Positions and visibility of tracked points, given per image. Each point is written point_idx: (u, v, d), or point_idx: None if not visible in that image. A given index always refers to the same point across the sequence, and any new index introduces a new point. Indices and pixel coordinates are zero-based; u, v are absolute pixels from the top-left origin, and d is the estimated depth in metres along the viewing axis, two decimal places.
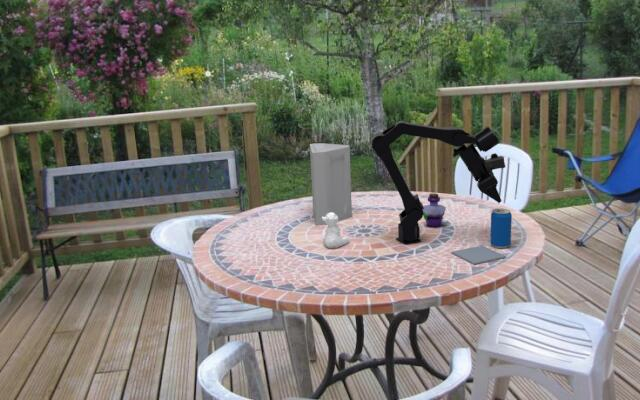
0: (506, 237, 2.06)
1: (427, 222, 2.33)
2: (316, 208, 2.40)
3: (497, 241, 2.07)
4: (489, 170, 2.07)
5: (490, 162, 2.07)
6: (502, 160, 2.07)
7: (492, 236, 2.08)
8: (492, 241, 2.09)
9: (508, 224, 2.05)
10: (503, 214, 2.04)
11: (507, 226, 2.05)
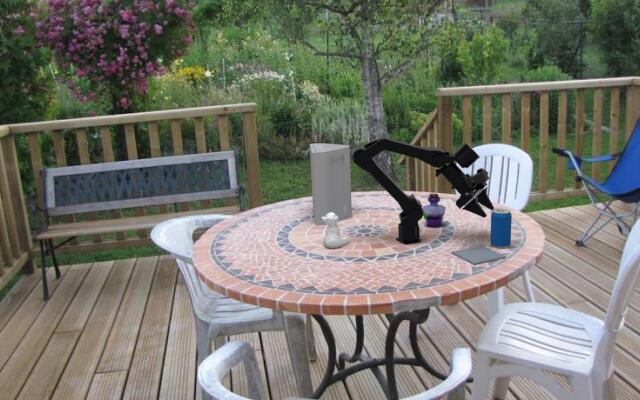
0: (506, 237, 2.06)
1: (427, 222, 2.33)
2: (316, 208, 2.40)
3: (497, 241, 2.07)
4: (470, 186, 2.07)
5: (470, 178, 2.07)
6: (481, 175, 2.05)
7: (492, 236, 2.08)
8: (492, 241, 2.09)
9: (508, 224, 2.05)
10: (503, 214, 2.04)
11: (507, 226, 2.05)
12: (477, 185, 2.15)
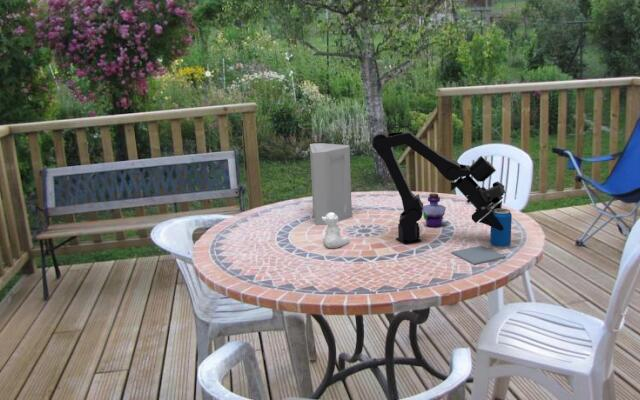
0: (506, 237, 2.06)
1: (427, 222, 2.33)
2: (316, 208, 2.40)
3: (497, 241, 2.07)
4: (486, 200, 2.06)
5: (486, 192, 2.06)
6: (498, 189, 2.04)
7: (492, 236, 2.08)
8: (492, 241, 2.09)
9: (508, 224, 2.05)
10: (503, 214, 2.04)
11: (507, 226, 2.05)
12: (493, 198, 2.13)
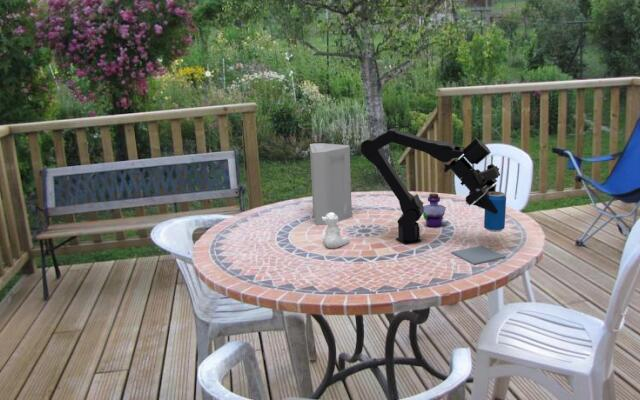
0: (500, 220, 2.03)
1: (427, 222, 2.33)
2: (316, 208, 2.40)
3: (491, 225, 2.03)
4: (481, 182, 2.02)
5: (481, 174, 2.02)
6: (492, 171, 2.00)
7: (486, 219, 2.05)
8: (486, 224, 2.05)
9: (502, 207, 2.02)
10: (497, 197, 2.01)
11: (501, 209, 2.02)
12: (487, 181, 2.09)
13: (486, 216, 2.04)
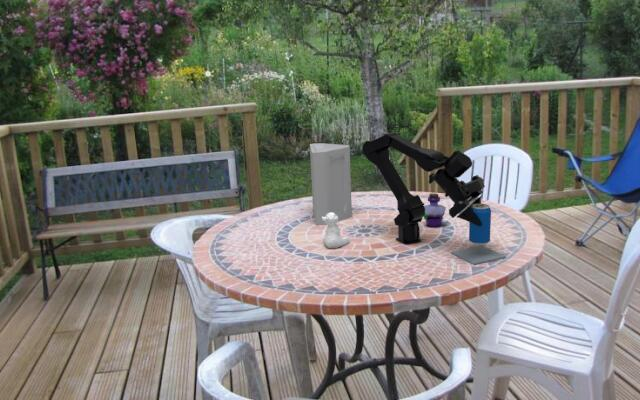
0: (484, 233, 1.98)
1: (427, 222, 2.33)
2: (316, 208, 2.40)
3: (476, 238, 1.99)
4: (465, 194, 1.97)
5: (465, 186, 1.97)
6: (476, 182, 1.95)
7: (471, 232, 2.00)
8: (470, 237, 2.00)
9: (487, 220, 1.97)
10: (482, 209, 1.96)
11: (486, 222, 1.97)
12: (472, 193, 2.05)
13: (471, 229, 2.00)
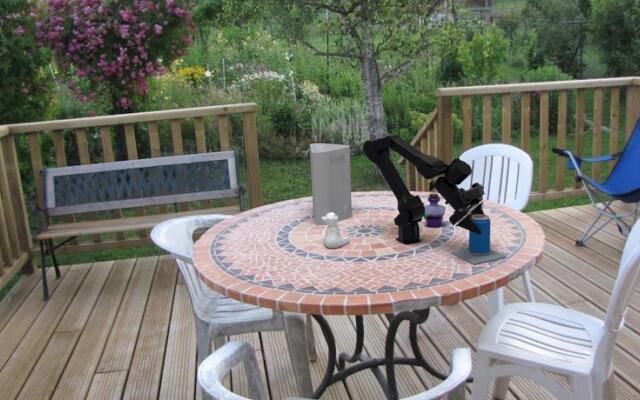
0: (484, 244, 1.99)
1: (427, 222, 2.33)
2: (316, 208, 2.40)
3: (476, 248, 2.00)
4: (465, 201, 1.98)
5: (465, 193, 1.98)
6: (476, 190, 1.96)
7: (470, 243, 2.01)
8: (471, 248, 2.01)
9: (486, 230, 1.98)
10: (481, 220, 1.97)
11: (486, 232, 1.98)
12: (472, 200, 2.05)
13: (470, 240, 2.00)
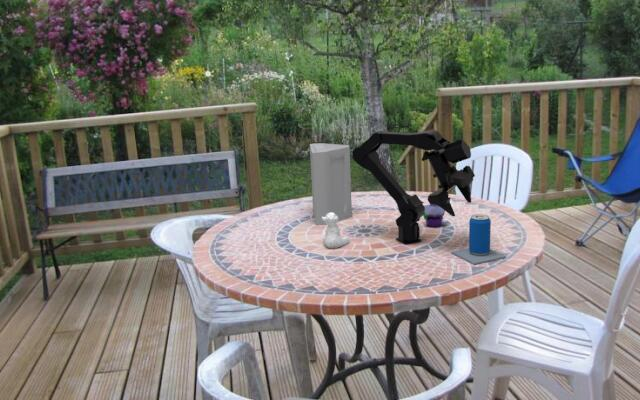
0: (484, 244, 1.99)
1: (427, 222, 2.33)
2: (316, 208, 2.40)
3: (476, 248, 2.00)
4: (449, 184, 2.04)
5: (451, 177, 2.03)
6: (461, 180, 2.00)
7: (471, 243, 2.01)
8: (471, 248, 2.01)
9: (486, 230, 1.98)
10: (482, 220, 1.97)
11: (486, 232, 1.98)
12: None
13: (471, 240, 2.00)
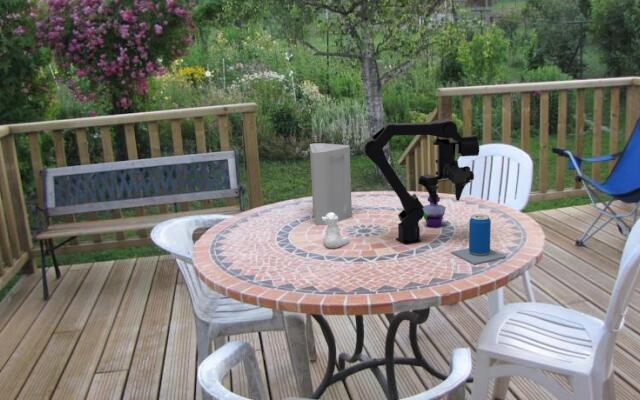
0: (484, 244, 1.99)
1: (427, 222, 2.33)
2: (316, 208, 2.40)
3: (476, 248, 2.00)
4: (443, 175, 2.10)
5: (448, 170, 2.08)
6: (454, 176, 2.05)
7: (471, 243, 2.01)
8: (471, 248, 2.01)
9: (486, 230, 1.98)
10: (482, 220, 1.97)
11: (486, 232, 1.98)
12: None
13: (471, 240, 2.00)
